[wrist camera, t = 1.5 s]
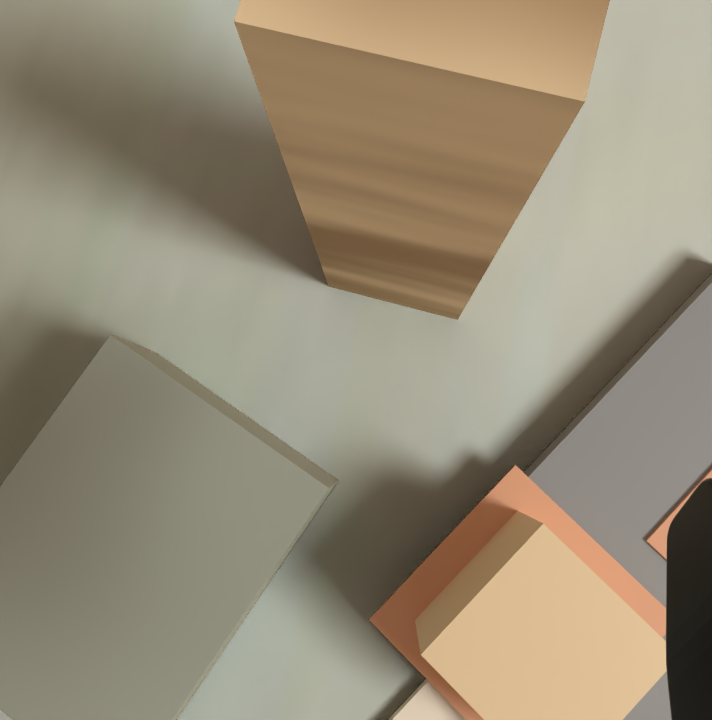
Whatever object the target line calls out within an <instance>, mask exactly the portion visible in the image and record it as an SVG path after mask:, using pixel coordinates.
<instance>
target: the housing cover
mask: <svg viewBox="0 0 712 720" xmlns="http://www.w3.org/2000/svg"><path fill="white" fill-rule="evenodd" d="M337 482H338V480H337V479H336V478H334V477H333V476H332V475H330V474H329V473H327V472H326V471H324V470H323V469H322V468H320V467H319V466H317V465H316V464H314V463H313V462H312V461H310V460H309V459H307V458H306V457H304V456H303V455H302V454H300V453H299V452H297V451H296V450H294V449H293V448H292V447H290V446H289V445H287V444H286V443H284V442H283V441H282V440H280V439H279V438H277V437H276V436H274V435H273V434H272V433H270V432H269V431H267V430H266V429H264V428H263V427H262V426H260V425H259V424H257V423H256V422H254V421H253V420H252V419H250V418H249V417H247V416H246V415H244V414H243V413H242V412H240V411H239V410H237V409H236V408H234V407H233V406H232V405H230V404H229V403H227V402H226V401H224V400H223V399H222V398H220V397H219V396H217V395H216V394H214V393H213V392H212V391H210V390H209V389H207V388H206V387H204V386H203V385H202V384H200V383H199V382H197V381H196V380H194V379H193V378H192V377H190V376H189V375H187V374H186V373H184V372H183V371H182V370H180V369H179V368H177V367H176V366H174V365H173V364H172V363H170V362H169V361H167V360H166V359H165V358H163V357H162V356H160V355H159V354H157V353H155V352H153V351H150V350H148V349H145V348H143V347H140V346H138V345H135V344H133V343H130V342H128V341H125V340H123V339H120V338H118V337H115V336H113V335H110V336H109V337H108V339H107V340H106V341H105V343H104V344H103V346H102V347H101V348H100V350H99V351H98V352H97V354H96V355H95V357H94V358H93V359H92V361H91V362H90V363H89V365H88V366H87V368H86V369H85V370H84V372H83V373H82V374H81V376H80V377H79V379H78V380H77V381H76V383H75V384H74V385H73V387H72V388H71V390H70V391H69V392H68V394H67V395H66V396H65V398H64V399H63V401H62V402H61V403H60V405H59V406H58V407H57V409H56V410H55V412H54V413H53V414H52V416H51V417H50V418H49V420H48V421H47V423H46V424H45V425H44V427H43V428H42V429H41V431H40V432H39V434H38V435H37V436H36V438H35V439H34V440H33V442H32V443H31V445H30V446H29V447H28V449H27V450H26V451H25V453H24V454H23V456H22V457H21V458H20V460H19V461H18V462H17V464H16V465H15V467H14V468H13V469H12V471H11V472H10V473H9V475H8V476H7V478H6V479H5V480H4V482H3V483H2V484H1V486H0V710H2V711H3V712H4V713H5V714H7V715H8V716H9V717H10V718H12V719H13V720H177V718H178V717H179V715H180V714H181V712H182V711H183V709H184V708H185V706H186V705H187V703H188V702H189V700H190V699H191V697H192V696H193V694H194V693H195V691H196V690H197V689H198V687H199V686H200V684H201V683H202V681H203V680H204V678H205V677H206V675H207V674H208V672H209V671H210V669H211V668H212V666H213V665H214V663H215V662H216V660H217V659H218V657H219V656H220V655H221V653H222V652H223V650H224V649H225V647H226V646H227V644H228V643H229V641H230V640H231V638H232V637H233V635H234V634H235V632H236V631H237V629H238V628H239V626H240V625H241V623H242V622H243V621H244V619H245V618H246V616H247V615H248V613H249V612H250V610H251V609H252V607H253V606H254V604H255V603H256V601H257V600H258V598H259V597H260V595H261V594H262V592H263V591H264V589H265V588H266V587H267V585H268V584H269V582H270V581H271V579H272V578H273V576H274V575H275V573H276V572H277V570H278V569H279V567H280V566H281V564H282V563H283V561H284V560H285V558H286V557H287V555H288V554H289V553H290V551H291V550H292V548H293V547H294V545H295V544H296V542H297V541H298V539H299V538H300V536H301V535H302V533H303V532H304V530H305V529H306V527H307V526H308V524H309V523H310V522H311V520H312V519H313V517H314V516H315V514H316V513H317V511H318V510H319V508H320V507H321V505H322V504H323V502H324V501H325V499H326V498H327V496H328V495H329V493H330V492H331V490H332V489H333V488H334V486H335V485H336V483H337Z"/></svg>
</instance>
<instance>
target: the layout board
mask: <svg viewBox="0 0 712 720" xmlns="http://www.w3.org/2000/svg"><path fill="white" fill-rule="evenodd" d="M707 478H712V273H711V275H710V276H709V277H708V278H707V279H706V280H705V281H704V282H703V283H702V284H701V285H700V286H699V287H698V288H697V289H696V290H695V292H694V293H693V294H692V295H691V296H690V297H689V298H688V299H687V300H686V301H685V302H684V303H683V304H682V305H681V306H680V307H679V308H678V310H677V311H676V312H675V313H674V314H673V315H672V316H671V317H670V318H669V319H668V320H667V321H666V322H665V323H664V324H663V325H662V326H661V328H660V329H659V330H658V331H657V332H656V333H655V334H654V335H653V336H652V337H651V338H650V339H649V340H648V341H647V342H646V343H645V344H644V346H643V347H642V348H641V349H640V350H639V351H638V352H637V353H636V354H635V355H634V356H633V357H632V358H631V359H630V360H629V361H628V363H627V364H626V365H625V366H624V367H623V368H622V369H621V370H620V371H619V372H618V373H617V374H616V375H615V376H614V377H613V378H612V379H611V381H610V382H609V383H608V384H607V385H606V386H605V387H604V388H603V389H602V390H601V391H600V392H599V393H598V394H597V395H596V396H595V397H594V399H593V400H592V401H591V402H590V403H589V404H588V405H587V406H586V407H585V408H584V409H583V410H582V411H581V412H580V413H579V414H578V416H577V417H576V418H575V419H574V420H573V421H572V422H571V423H570V424H569V425H568V426H567V427H566V428H565V429H564V430H563V431H562V432H561V434H560V435H559V436H558V437H557V438H556V439H555V440H554V441H553V442H552V443H551V444H550V445H549V446H548V447H547V448H546V449H545V450H544V452H543V453H542V454H541V455H540V456H539V457H538V458H537V459H536V460H535V461H534V462H533V463H532V464H531V465H530V466H529V467H528V468H527V470H526V471H525V472H524V473H523V472H522V471H521V470H520V469H519V468H518V467H517V466H516V465H515V466H514V467H513V468H512V469H511V470H510V471H509V472H508V473H507V474H506V475H505V476H504V477H503V478H502V479H501V480H500V481H499V482H498V484H497V485H496V486H495V487H494V488H493V489H492V490H491V491H490V492H489V493H488V494H487V495H486V496H485V497H484V498H483V499H482V500H481V501H480V503H479V504H478V505H477V506H476V507H475V508H474V509H473V510H472V511H471V512H470V513H469V514H468V515H467V516H466V517H465V518H464V519H463V521H462V522H461V523H460V524H459V525H458V526H457V527H456V528H455V529H454V530H453V531H452V532H451V533H450V534H449V535H448V536H447V537H446V539H445V540H444V541H443V542H442V543H441V544H440V545H439V546H438V547H437V548H436V549H435V550H434V551H433V552H432V553H431V554H430V555H429V556H428V558H427V559H426V560H425V561H424V562H423V563H422V564H421V565H420V566H419V567H418V568H417V569H416V570H415V571H414V572H413V573H412V574H411V576H410V577H409V578H408V579H407V580H406V581H405V582H404V583H403V584H402V585H401V586H400V587H399V588H398V589H397V590H396V591H395V592H394V593H393V595H392V596H391V597H390V598H389V599H388V600H387V601H386V602H385V603H384V604H383V605H382V606H381V607H380V608H379V609H378V610H377V611H376V613H375V614H374V615H373V616H372V617H371V618H370V619H369V620H370V621H371V622H372V623H373V624H374V625H375V626H376V627H377V629H378V630H379V631H380V632H381V633H382V634H383V635H384V636H385V637H386V638H387V639H388V640H389V641H390V642H391V643H392V644H393V645H394V646H395V647H396V648H397V649H398V650H399V651H400V652H401V653H402V654H403V655H404V656H405V657H406V658H407V659H408V660H409V661H410V662H411V664H412V665H413V666H414V667H415V668H416V669H417V670H418V671H419V672H420V673H421V674H422V675H423V676H424V677H425V678H426V679H427V680H428V681H429V682H430V683H431V684H432V685H433V686H434V687H435V688H436V689H437V690H438V691H439V692H440V693H441V694H442V695H443V696H444V698H445V699H446V700H447V701H448V702H449V703H450V704H451V705H452V706H453V707H454V708H455V709H456V710H457V711H458V712H459V713H460V714H461V715H462V716H463V717H464V718H465V719H466V720H672V719H671V710H670V700H669V691H668V680H667V668H666V567H667V534H668V530H669V526H670V524H671V522H672V520H673V518H674V517H675V516H676V514H677V513H678V512H679V510H680V509H681V508H682V506H683V505H684V504H685V502H686V501H687V500H688V498H689V497H690V496H691V494H692V493H693V492H694V491H695V489H696V488H697V487H698V485H699V484H700V483H701V482H702V481H704V480H705V479H707Z"/></svg>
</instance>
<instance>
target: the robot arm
mask: <svg viewBox="0 0 712 720" xmlns="http://www.w3.org/2000/svg"><path fill="white" fill-rule="evenodd" d="M666 668H667V680H668V691H669V700H670V710H671V719H672V720H712V478H707V479H705V480H704V481H702V482H701V483H700V484H699V485H698V487H697V488H696V489H695V491H694V492H693V493H692V494H691V496H690V497H689V498H688V500H687V501H686V502H685V504H684V505H683V506H682V508H681V509H680V510H679V512H678V513H677V514H676V516H675V517H674V518H673V520H672V522H671V524H670V526H669V530H668V534H667V567H666Z"/></svg>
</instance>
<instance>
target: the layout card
mask: <svg viewBox="0 0 712 720" xmlns="http://www.w3.org/2000/svg"><path fill="white" fill-rule="evenodd" d="M388 720H466V719H465V718H464V717H463V716H462V715H461V714H460V713H459V712H458V711H457V710H456V709H455V708H454V707H453V706H452V705H451V704H450V703H449V702H448V701H447V700H446V699H445V698H444V696H443V695H442V694H441V693H440V692H439V691H438V690H437V689H436V688H435V687H434V686H433V685H432V684H431V683H430V682H429V681H428V680H427V679H425V680H424V682H423V683H422V684H421V685H420V686H419V687H418V688H417V689H416V690H415V691H414V692H413V693H412V694H411V696H410V697H409V698H408V699H407V700H406V701H405V702H404V703H403V704H402V705H401V706H400V707H399V708H398V709H397V711H396V712H395V713H394V714H393V715H392V716H391V717H390V718H389V719H388Z"/></svg>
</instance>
